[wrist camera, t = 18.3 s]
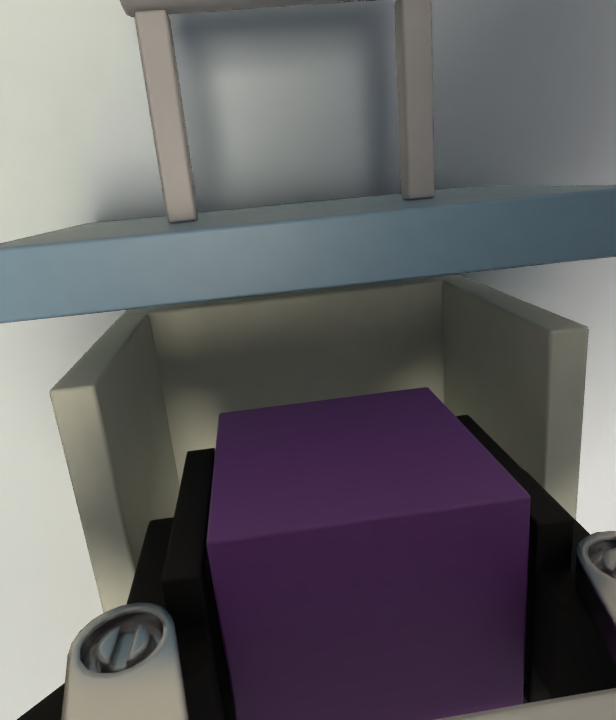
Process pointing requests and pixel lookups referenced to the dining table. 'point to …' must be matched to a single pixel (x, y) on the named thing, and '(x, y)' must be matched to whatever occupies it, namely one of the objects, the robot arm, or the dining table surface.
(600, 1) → the dining table surface
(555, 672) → the robot arm
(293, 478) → the cube
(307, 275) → the drawer
